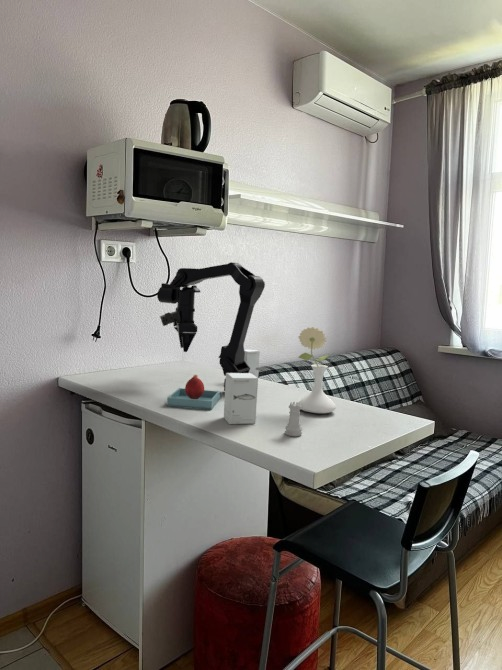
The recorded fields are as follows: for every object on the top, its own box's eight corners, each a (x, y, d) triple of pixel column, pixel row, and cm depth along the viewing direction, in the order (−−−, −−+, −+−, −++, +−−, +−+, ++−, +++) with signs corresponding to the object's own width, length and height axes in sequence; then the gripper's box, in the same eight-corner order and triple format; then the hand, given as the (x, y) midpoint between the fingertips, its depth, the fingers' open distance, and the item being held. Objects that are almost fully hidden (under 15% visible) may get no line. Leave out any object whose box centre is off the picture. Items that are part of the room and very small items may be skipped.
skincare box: (245, 384, 189) (247, 351, 187) (238, 382, 192) (239, 349, 191) (258, 383, 193) (260, 350, 191) (251, 381, 196) (252, 348, 195)
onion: (200, 403, 156) (201, 377, 155) (182, 402, 157) (182, 375, 156) (206, 399, 161) (207, 373, 161) (188, 397, 163) (189, 372, 162)
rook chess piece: (301, 431, 135) (302, 401, 134) (303, 437, 131) (305, 405, 130) (283, 431, 135) (285, 400, 134) (285, 436, 131) (287, 405, 130)
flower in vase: (341, 411, 159) (347, 328, 156) (326, 419, 149) (333, 331, 146) (302, 403, 165) (307, 324, 162) (285, 410, 155) (290, 326, 153)
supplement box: (229, 425, 138) (231, 377, 137) (223, 417, 145) (225, 372, 144) (256, 424, 140) (258, 377, 139) (248, 416, 147) (251, 372, 146)
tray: (219, 399, 165) (220, 391, 165) (211, 409, 152) (211, 401, 152) (178, 396, 167) (179, 388, 166) (167, 406, 154) (167, 397, 153)
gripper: (160, 301, 188) (158, 345, 190) (164, 306, 170) (162, 353, 172) (191, 303, 191) (189, 345, 193) (198, 307, 173) (196, 354, 175)
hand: (183, 349), depth 183 cm, fingers open, 9 cm apart
